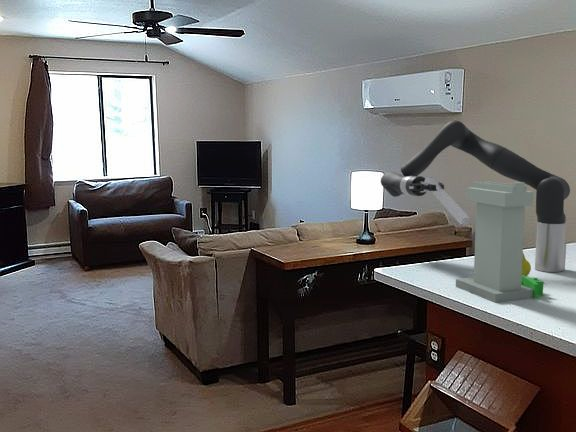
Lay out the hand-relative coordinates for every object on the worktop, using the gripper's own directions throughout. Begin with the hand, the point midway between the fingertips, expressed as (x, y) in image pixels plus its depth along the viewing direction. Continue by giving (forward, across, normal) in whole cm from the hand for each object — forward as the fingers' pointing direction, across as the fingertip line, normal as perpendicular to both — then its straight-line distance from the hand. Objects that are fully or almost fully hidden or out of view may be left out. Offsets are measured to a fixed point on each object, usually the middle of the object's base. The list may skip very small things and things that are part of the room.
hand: (439, 187), depth 206 cm
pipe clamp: (+35, +11, +32) cm, 49 cm away
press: (+29, 0, +31) cm, 43 cm away
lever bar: (+3, 0, +5) cm, 6 cm away
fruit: (+18, +20, +31) cm, 41 cm away
